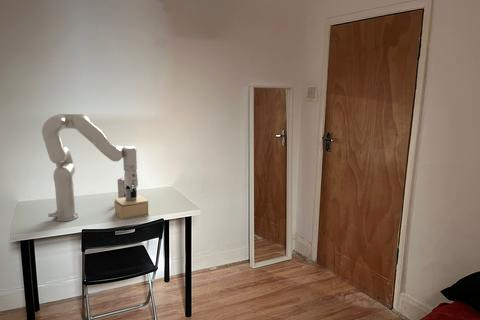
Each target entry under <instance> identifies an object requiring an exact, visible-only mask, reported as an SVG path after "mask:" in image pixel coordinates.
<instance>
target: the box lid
mask: <svg viewBox="0 0 480 320" xmlns="http://www.w3.org/2000/svg"><path fill="white" fill-rule="evenodd" d="M115 201H116V202H118V203H119V204H120V205H122V206H125V205H132V204H138V203H145V202H148V203H149V200H148V199H146V198H145V197H143V196H142V195H140V194H139V195H137V200H135V201H127V200H126V197H123V198H117V197H116V198H114V202H115Z"/></svg>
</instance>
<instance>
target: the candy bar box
mask: <svg viewBox="0 0 480 320" xmlns="http://www.w3.org/2000/svg"><path fill="white" fill-rule="evenodd" d="M116 182H117V195H118V196H117V197H118V198H123V197H126V187H125V186H126V185H125V180H124V176H122V177H120V178H118V179H117V181H116Z"/></svg>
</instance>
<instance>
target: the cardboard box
mask: <svg viewBox="0 0 480 320" xmlns="http://www.w3.org/2000/svg"><path fill="white" fill-rule="evenodd" d="M114 214H115V215H116V216H118V217H119V218H120V219H121V220H122V221H123V220H129V219H133V218H139V217H144V216H148V215H149V201H148V202H145V203H138V204H132V205H125V206H122V205H120V204H119V203H118V202H116V201H115V200H114ZM138 216H139V217H138Z"/></svg>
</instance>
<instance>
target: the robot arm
mask: <svg viewBox="0 0 480 320" xmlns="http://www.w3.org/2000/svg"><path fill="white" fill-rule="evenodd" d="M64 129H67V130H68V129H69V130H71V129H74V130H76V132H78V133H79V134H80V135H82V136H83V137H84V138H85V139H87V140H88V141H89V142H90V143H91V144H92V145H93V146H94V147H96V149H98V150H99V152H100V153H101V154H103V155H104V156H105V157H106V158H108V159H109V160H110V161H112V162H119V161H120V160H123V164H122V165H123V171H124V172H123V173H124V176H123V177H124V180H125V185H126V186H125V187H126V189H131V198H135V197H136V190H138V189H137V187H138V185H139V182H138V181H139V180H138V179H139V178H138V173H137V169H138V168H137V167H138V165H137V164H138V163H137V160H138V159H137V149H136V147H135V146H121V145H120V146H119V145H114V144H113V143H112V142H110V140H109V139H108V138H107V137H106V136H105V134H104V132H103V131H102V130H101V129H100V128H98V127H97V126H96V125H95V124H93V123H92V122H91V121H90V119H89V117H88V116H86V115H85V114H81V113H80V114H76V113H75V114H74V113H73V114H70V113H63V114H62V113H59V114H56V115H55V114H54V115H53V116H51V117H50V118H48V119H47V120H46V121H45V122H44V123H43V126H42V129H41V134H42V138H43V139H42V140H43V141H44V145H45V147H46V151H47V154H48V158H49V161H51V162H52V163H53V164H55V166H56V168H55V170H54V171H53V175H52V176H53V177H52V178H53V181H54V188H55V201H56V210H55V211H54V212H51V213H48V214H47V217H48V218H54V220H55V221H57V222H69V221H73V220H76V219H77V218H79V214H78V213H77V212H76V206H75V203H76V202H75V191H74V183H73V176H74V174H75V172H76V167H75V164H74V161H73V158H72V155H71V152H70V149H69V148H68V147H67V146H66V145H64V144H63V141H62V138H61V136H60V132H61V131H62V130H64Z"/></svg>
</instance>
